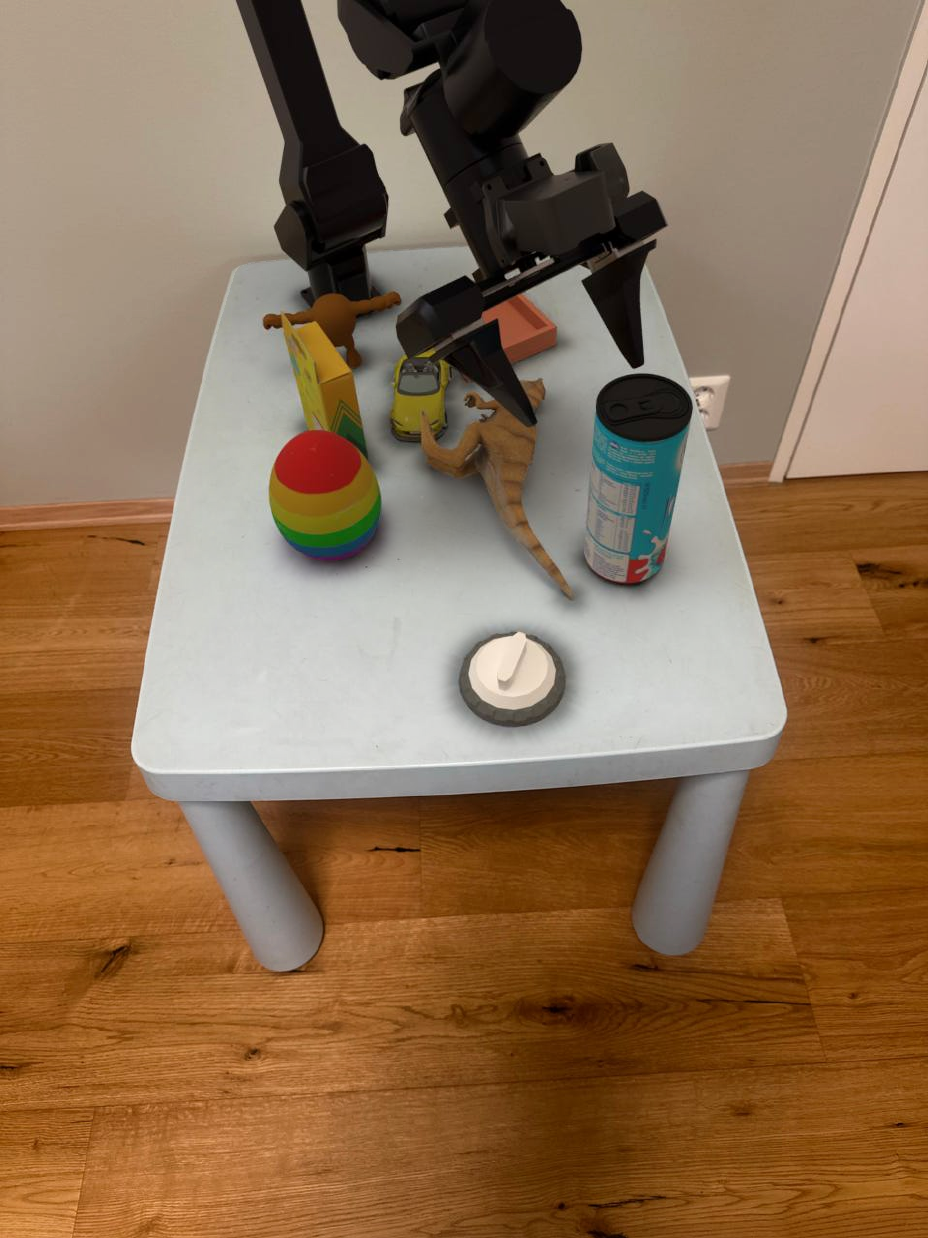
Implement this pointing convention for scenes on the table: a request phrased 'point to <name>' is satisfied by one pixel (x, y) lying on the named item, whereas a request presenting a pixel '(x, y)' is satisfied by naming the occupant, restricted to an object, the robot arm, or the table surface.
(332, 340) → the toy figurine
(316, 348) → the crayon box
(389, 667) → the table surface
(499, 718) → the stove knob
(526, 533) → the dinosaur figurine
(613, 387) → the beverage can
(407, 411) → the toy car
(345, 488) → the decorative egg
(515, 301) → the tray
